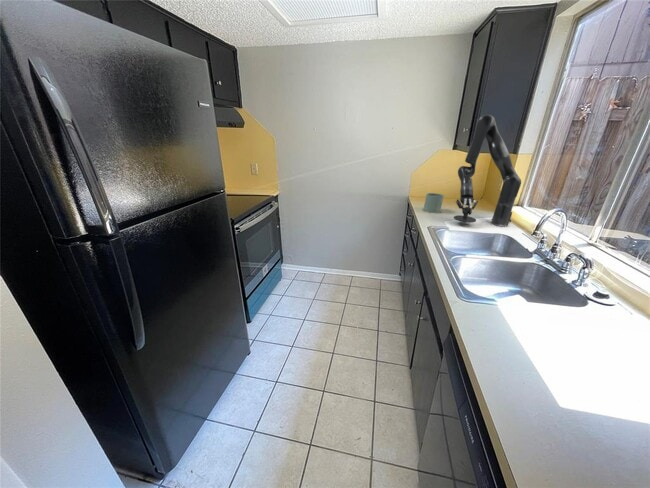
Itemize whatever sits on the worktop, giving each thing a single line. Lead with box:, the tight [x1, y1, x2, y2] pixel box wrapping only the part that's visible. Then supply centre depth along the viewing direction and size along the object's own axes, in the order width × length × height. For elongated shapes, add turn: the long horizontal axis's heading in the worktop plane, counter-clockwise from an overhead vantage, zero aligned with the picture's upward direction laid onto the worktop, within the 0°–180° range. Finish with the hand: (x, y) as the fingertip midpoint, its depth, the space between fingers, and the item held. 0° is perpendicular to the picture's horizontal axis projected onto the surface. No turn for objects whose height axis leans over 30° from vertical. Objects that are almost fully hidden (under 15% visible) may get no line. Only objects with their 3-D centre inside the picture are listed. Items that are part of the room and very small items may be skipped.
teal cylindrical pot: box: [423, 192, 445, 214], centre depth 201 cm, size 12×12×12 cm
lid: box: [453, 206, 477, 224], centre depth 170 cm, size 13×13×9 cm
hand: (467, 213), depth 168 cm, fingers closed on lid, 2 cm apart
